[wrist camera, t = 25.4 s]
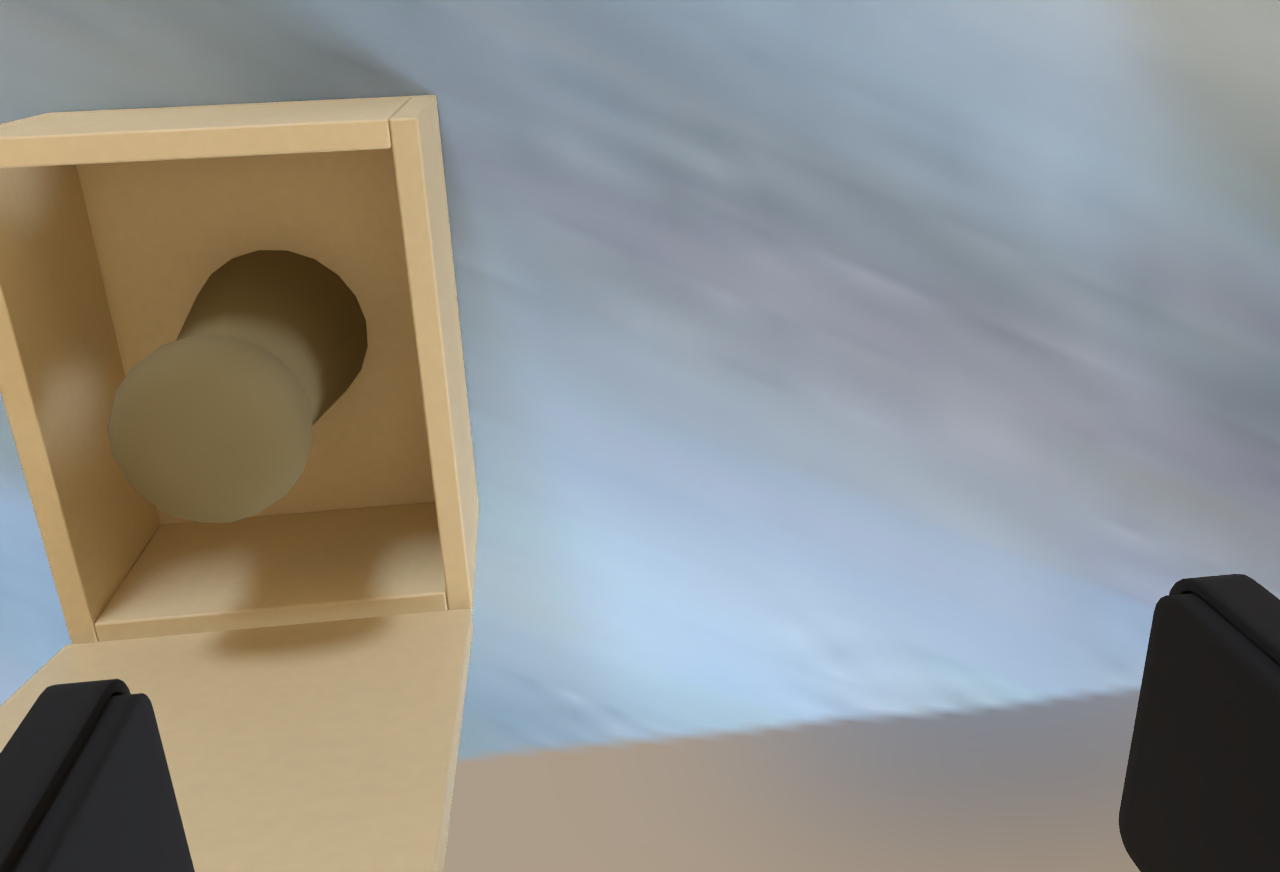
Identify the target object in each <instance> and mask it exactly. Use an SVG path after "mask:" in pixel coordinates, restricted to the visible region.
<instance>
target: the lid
mask: <svg viewBox="0 0 1280 872" xmlns="http://www.w3.org/2000/svg"><path fill="white" fill-rule="evenodd" d="M472 636H473V620H472V611H471V609H459V610H448V611H437V612H426V613H415V614H404V615H393V616H382V617H371V618H360V619H349V620H338V621H326V622H315V623H304V624H293V625H282V626H271V627H260V628H249V629H238V630H227V631H216V632H205V633H194V634H183V635H172V636H161V637H149V638H138V639H127V640H116V641H105V642H94V643H83V644H72V645H66V646H64V647H63V648H62V649H61V650H60V651H59V652H58V653H57V654H55V655H54V656H53V657H52V658H51V659H50V660H49V661H48V662H47V663H46V664H45V665H44V666H43V667H42V668H41V669H40V670H39V671H37V672H36V673H35V674H34V675H33V676H32V677H31V678H30V679H29V680H28V681H27V682H26V683H25V684H24V685H23V686H22V687H20V688H19V689H18V690H17V691H16V692H15V693H14V694H13V695H12V696H11V697H10V698H9V699H8V700H7V701H6V702H5V703H4V704H2V705H1V706H0V753H1V751H2V750H3V749H4V747H5V746H6V744H7V743H8V741H9V740H10V738H11V737H12V735H13V734H14V732H15V731H16V729H17V728H18V726H19V725H20V723H21V722H22V721H23V719H24V718H25V716H26V715H27V713H28V712H29V710H30V709H31V707H32V706H33V704H34V703H35V701H36V700H37V698H38V697H39V695H40V694H41V693H42V692H43V691H44V690H45V689H46V688H47V687H49V686H52V685H56V684H66V683H77V682H88V681H98V680H109V679H120V680H122V681H124V682H125V684H126V685H127V687H128V688H129V690H130V693H131V694H138V693H143V694H146V695H147V696H148V698H149V699H150V701H151V703H152V706H153V709H154V713H155V717H156V721H157V725H158V729H159V733H160V737H161V741H162V745H163V749H164V753H165V756H166V760H167V764H168V768H169V772H170V776H171V780H172V784H173V788H174V792H175V796H176V800H177V804H178V808H179V811H180V815H181V819H182V823H183V827H184V831H185V835H186V839H187V843H188V847H189V851H190V855H191V859H192V863H193V866H194V870H195V872H443V871H444V863H445V855H446V846H447V838H448V830H449V822H450V814H451V806H452V798H453V789H454V782H455V773H456V765H457V757H458V749H459V741H460V733H461V725H462V717H463V709H464V701H465V692H466V684H467V676H468V668H469V660H470V652H471V644H472Z"/></svg>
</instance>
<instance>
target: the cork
mask: <svg viewBox="0 0 1280 872" xmlns="http://www.w3.org/2000/svg"><path fill="white" fill-rule="evenodd" d="M367 347H368V343H367V328H366V320H365V317H364V315H363V312H362V310H361V307H360V305H359V303H358V300H357V298H356V296H355V295H354V293H353V292H352V291H351V290H350V289H349V287H348V286H347V285H346V284H345V282H344V281H343V280H342V279H341V278H340V276H339V275H338V274H336V273H335V272H333V271H332V270H330V269H329V268H327V267H326V266H324V265H323V264H321V263H320V262H318V261H317V260H315V259H313V258H310V257H306V256H303V255H300V254H297V253H294V252H290V251H287V250H257V251H254V252H251V253H248V254H245V255H241V256H238V257H235V258H232V259H231V260H229V261H228V262H227V263H225V264H224V265H223V266H221V267H220V268H219V269H217V270H216V271H215V272H213V273H212V274H211V275H210V276H209V278H208V279H207V281H206V283H205V284H204V286H203V287H202V289H201V290H200V292H199V293H198V295H197V297H196V299H195V301H194V303H193V305H192V307H191V310H190V312H189V314H188V316H187V318H186V320H185V322H184V325H183V327H182V329H181V331H180V333H179V335H178V337H177V340H176V341H174V342H171V343H168V344H165V345H161V346H160V347H159V348H157V349H156V350H155V351H153V352H152V353H150V354H149V355H148V356H146V357H145V358H144V359H142V360H141V361H140V362H138V363H137V364H136V365H135V366H134V367H133V368H132V369H130V371H129V373H128V374H127V376H126V377H125V379H124V380H123V382H122V383H121V385H120V386H119V388H118V390H117V391H116V393H115V396H114V401H113V406H112V411H111V416H110V421H109V426H108V432H109V438H110V444H111V450H112V456H113V458H114V459H115V461H116V463H117V465H118V467H119V469H120V471H121V472H122V474H123V476H124V478H125V480H126V481H127V482H128V483H129V484H130V485H131V486H132V487H133V488H134V489H135V490H136V491H137V492H138V493H139V494H140V495H141V496H142V497H143V498H144V499H145V500H146V501H147V502H149V503H151V504H152V505H154V506H156V507H158V508H160V509H161V510H163V511H165V512H167V513H169V514H171V515H172V516H176V517H180V518H184V519H188V520H192V521H196V522H200V523H229V522H234V521H238V520H241V519H244V518H247V517H250V516H254V515H257V514H259V513H260V512H262V511H263V510H265V509H266V508H267V507H269V506H270V505H272V504H273V503H274V502H276V501H277V500H279V499H280V498H282V497H283V496H284V495H286V494H287V493H288V492H289V490H290V489H291V488H292V486H293V485H294V483H295V482H296V481H297V479H298V478H299V476H300V475H301V474H302V472H303V470H304V468H305V465H306V463H307V459H308V455H309V451H310V448H311V444H312V440H313V430H312V426H313V425H314V423H315V422H316V421H317V420H318V419H319V418H320V417H321V416H322V415H323V414H324V413H325V412H326V411H327V410H328V409H329V408H330V407H331V406H332V405H333V404H334V403H335V402H336V401H337V400H338V399H339V398H340V397H341V396H342V395H343V394H344V393H345V392H346V391H347V389H348V388H349V386H350V385H351V384H352V382H353V381H354V379H355V378H356V377H357V375H358V374H359V372H360V371H361V369H362V365H363V361H364V358H365V354H366V351H367Z"/></svg>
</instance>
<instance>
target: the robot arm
mask: <svg viewBox="0 0 1280 872" xmlns="http://www.w3.org/2000/svg"><path fill="white" fill-rule="evenodd" d="M1119 828H1120V834H1121V837H1122V841H1123V844H1124V846H1125V848H1126V851H1127V852H1128V854H1129V856H1130V857H1131V859H1132V860H1133V862H1134V863H1135V864H1136V866H1137V867H1138V869H1139V870H1140V871H1141V872H1280V600H1279V599H1278V598H1277V597H1275V596H1274V595H1273V594H1271V593H1270V592H1269V591H1268V590H1266V589H1265V588H1264V587H1262V586H1261V585H1260V584H1258V583H1257V582H1256V581H1255V580H1253V579H1251V578H1249V577H1248V576H1246V575H1241V574H1231V575H1220V576H1209V577H1199V578H1188V579H1182V580H1180V581H1178V582H1176V583H1175V585H1174V586H1173V587H1172V589H1171V590H1170V594H1169V596H1164V597H1162V598H1160V600H1159V601H1158V603H1157V604H1156V607H1155V611H1154V615H1153V621H1152V627H1151V633H1150V638H1149V644H1148V650H1147V656H1146V662H1145V667H1144V673H1143V679H1142V685H1141V690H1140V696H1139V702H1138V708H1137V714H1136V719H1135V725H1134V731H1133V737H1132V743H1131V748H1130V754H1129V760H1128V766H1127V772H1126V778H1125V783H1124V789H1123V795H1122V800H1121V807H1120V812H1119ZM0 872H195V870H194V866H193V863H192V859H191V855H190V851H189V847H188V843H187V839H186V835H185V831H184V827H183V823H182V819H181V815H180V811H179V808H178V804H177V800H176V796H175V792H174V788H173V784H172V780H171V776H170V772H169V768H168V764H167V760H166V756H165V753H164V749H163V745H162V741H161V737H160V733H159V729H158V725H157V721H156V717H155V713H154V709H153V706H152V703H151V701H150V699H149V698H148V696H147V695H146V694H143V693H138V694H131V693H130V690H129V688H128V687H127V685H126V684H125V682H124V681H122V680H120V679H109V680H98V681H88V682H77V683H66V684H56V685H52V686H49V687H47V688H46V689H45V690H44V691H43V692H42V693H41V694H40V695H39V697H38V698H37V700H36V701H35V703H34V704H33V706H32V707H31V709H30V710H29V712H28V713H27V715H26V716H25V718H24V719H23V721H22V722H21V723H20V725H19V726H18V728H17V729H16V731H15V732H14V734H13V735H12V737H11V738H10V740H9V741H8V743H7V744H6V746H5V747H4V749H3V750H2V751H1V753H0Z"/></svg>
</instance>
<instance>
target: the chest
mask: <svg viewBox="0 0 1280 872" xmlns="http://www.w3.org/2000/svg"><path fill="white" fill-rule="evenodd" d="M257 250H287V251H290V252H294V253H297V254H300V255H303V256H306V257H310V258H313V259H315V260H317V261H318V262H320V263H321V264H323V265H324V266H326V267H327V268H329V269H330V270H332V271H333V272H335V273H336V274H338V275H339V276H340V278H341V279H342V280H343V281H344V282H345V284H346V285H347V286H348V287H349V289H350V290H351V291H352V292H353V293H354V295H355V296H356V298H357V300H358V303H359V305H360V307H361V310H362V312H363V315H364V317H365V320H366V328H367V343H368V347H367V351H366V354H365V358H364V361H363V365H362V369H361V371H360V372H359V374H358V375H357V377H356V378H355V379H354V381H353V382H352V384H351V385H350V386H349V388H348V389H347V391H346V392H345V393H344V394H343V395H342V396H341V397H340V398H339V399H338V400H337V401H336V402H335V403H334V404H333V405H332V406H331V407H330V408H329V409H328V410H327V411H326V412H325V413H324V414H323V415H322V416H321V417H320V418H319V419H318V420H317V421H316V422H315V423H314V425H313V426H312V430H313V440H312V444H311V448H310V451H309V455H308V459H307V463H306V465H305V468H304V470H303V472H302V474H301V475H300V476H299V478H298V479H297V481H296V482H295V483H294V485H293V486H292V488H291V489H290V490H289V492H288V493H287V494H286V495H284V496H283V497H282V498H280V499H279V500H277V501H276V502H274V503H273V504H272V505H270V506H269V507H267V508H266V509H265V510H263V511H262V512H260V513H259V514H257V515H254V516H250V517H247V518H244V519H241V520H238V521H234V522H229V523H200V522H196V521H192V520H188V519H184V518H180V517H176V516H172V515H171V514H169V513H167V512H165V511H163V510H161V509H160V508H158V507H156V506H154V505H152V504H151V503H149V502H147V501H146V500H145V499H144V498H143V497H142V496H141V495H140V494H139V493H138V492H137V491H136V490H135V489H134V488H133V487H132V486H131V485H130V484H129V483H128V482H127V481H126V480H125V478H124V476H123V474H122V472H121V471H120V469H119V467H118V465H117V463H116V461H115V459H114V458H113V456H112V450H111V444H110V438H109V432H108V426H109V421H110V416H111V411H112V406H113V401H114V396H115V393H116V391H117V390H118V388H119V386H120V385H121V383H122V382H123V380H124V379H125V377H126V376H127V374H128V373H129V371H130V369H132V368H133V367H134V366H135V365H136V364H137V363H138V362H140V361H141V360H142V359H144V358H145V357H146V356H148V355H149V354H150V353H152V352H153V351H155V350H156V349H157V348H159V347H160V346H161V345H165V344H168V343H171V342H174V341H176V340H177V337H178V335H179V333H180V331H181V329H182V327H183V325H184V322H185V320H186V318H187V316H188V314H189V312H190V310H191V307H192V305H193V303H194V301H195V299H196V297H197V295H198V293H199V292H200V290H201V289H202V287H203V286H204V284H205V283H206V281H207V279H208V278H209V276H210V275H211V274H212V273H213V272H215V271H216V270H217V269H219V268H220V267H221V266H223V265H224V264H225V263H227V262H228V261H229V260H231V259H232V258H235V257H238V256H241V255H245V254H248V253H251V252H254V251H257ZM0 391H1V394H2V398H3V401H4V405H5V408H6V412H7V415H8V419H9V423H10V426H11V430H12V433H13V437H14V440H15V444H16V447H17V451H18V454H19V458H20V462H21V465H22V469H23V472H24V476H25V479H26V483H27V486H28V490H29V493H30V497H31V501H32V504H33V508H34V511H35V515H36V518H37V522H38V525H39V529H40V532H41V536H42V540H43V543H44V547H45V550H46V554H47V557H48V561H49V564H50V568H51V571H52V575H53V579H54V582H55V586H56V589H57V593H58V596H59V600H60V603H61V607H62V610H63V614H64V618H65V621H66V625H67V628H68V632H69V635H70V639H71V642H72V644H83V643H94V642H105V641H116V640H127V639H138V638H149V637H161V636H172V635H183V634H194V633H205V632H216V631H227V630H238V629H249V628H260V627H271V626H282V625H293V624H304V623H315V622H326V621H338V620H349V619H360V618H371V617H382V616H393V615H404V614H415V613H426V612H437V611H448V610H459V609H471V610H472V609H473V598H474V581H475V564H476V547H477V530H478V514H479V502H478V493H477V483H476V474H475V464H474V454H473V445H472V435H471V426H470V416H469V406H468V397H467V387H466V377H465V368H464V358H463V349H462V339H461V329H460V320H459V310H458V301H457V291H456V281H455V272H454V262H453V253H452V243H451V233H450V224H449V214H448V204H447V195H446V185H445V176H444V166H443V156H442V147H441V137H440V128H439V118H438V108H437V99H436V96H435V95H420V96H399V97H377V98H355V99H334V100H312V101H290V102H268V103H247V104H225V105H203V106H182V107H160V108H138V109H117V110H95V111H73V112H52V113H46V114H42V115H37V116H33V117H29V118H24V119H20V120H16V121H12V122H7V123H3V124H0Z"/></svg>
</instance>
